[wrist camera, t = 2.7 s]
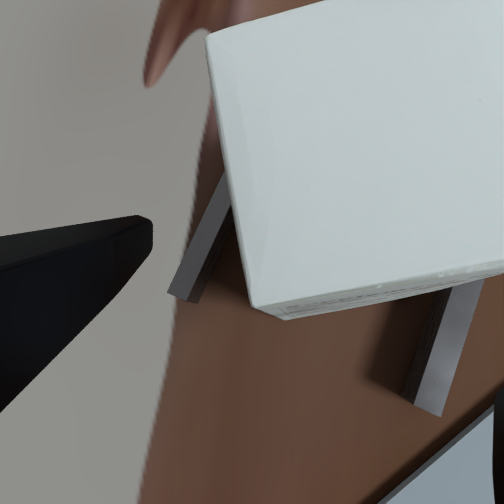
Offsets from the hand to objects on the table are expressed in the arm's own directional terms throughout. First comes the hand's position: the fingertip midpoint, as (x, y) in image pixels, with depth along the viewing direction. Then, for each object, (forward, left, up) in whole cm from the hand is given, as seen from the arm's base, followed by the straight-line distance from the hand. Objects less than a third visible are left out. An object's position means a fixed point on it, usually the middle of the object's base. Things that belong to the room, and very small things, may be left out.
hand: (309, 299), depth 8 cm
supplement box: (+4, +2, -11) cm, 12 cm away
